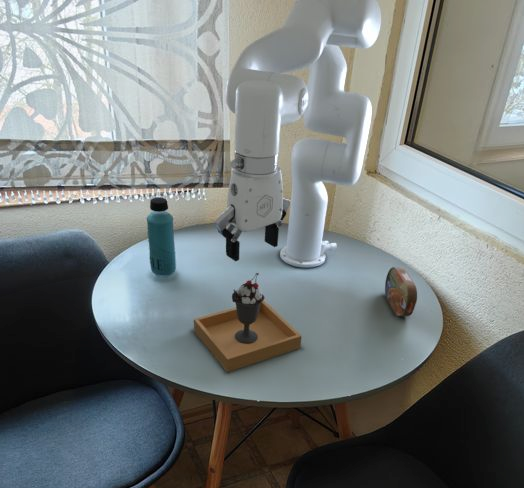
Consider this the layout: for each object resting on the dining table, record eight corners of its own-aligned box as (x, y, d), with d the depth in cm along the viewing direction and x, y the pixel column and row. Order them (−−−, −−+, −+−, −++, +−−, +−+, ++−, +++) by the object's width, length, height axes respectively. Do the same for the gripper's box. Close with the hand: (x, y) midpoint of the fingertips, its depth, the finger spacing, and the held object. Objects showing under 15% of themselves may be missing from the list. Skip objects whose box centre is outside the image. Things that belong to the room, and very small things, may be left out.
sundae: (265, 332, 113) (270, 271, 104) (255, 349, 108) (259, 286, 98) (237, 324, 114) (240, 264, 105) (226, 341, 109) (227, 279, 100)
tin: (382, 290, 132) (389, 260, 127) (394, 290, 132) (401, 260, 127) (399, 323, 120) (408, 292, 115) (412, 323, 120) (421, 292, 115)
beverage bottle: (179, 270, 134) (176, 195, 121) (173, 283, 128) (169, 206, 116) (154, 267, 134) (148, 192, 122) (147, 280, 129) (140, 203, 116)
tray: (262, 312, 120) (263, 300, 118) (300, 348, 110) (301, 335, 108) (193, 331, 113) (193, 318, 111) (227, 372, 102) (227, 359, 100)
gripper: (230, 178, 82) (228, 272, 93) (306, 159, 91) (297, 246, 102) (202, 164, 86) (204, 256, 97) (278, 147, 96) (272, 232, 106)
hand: (252, 251), depth 99 cm, fingers open, 9 cm apart
